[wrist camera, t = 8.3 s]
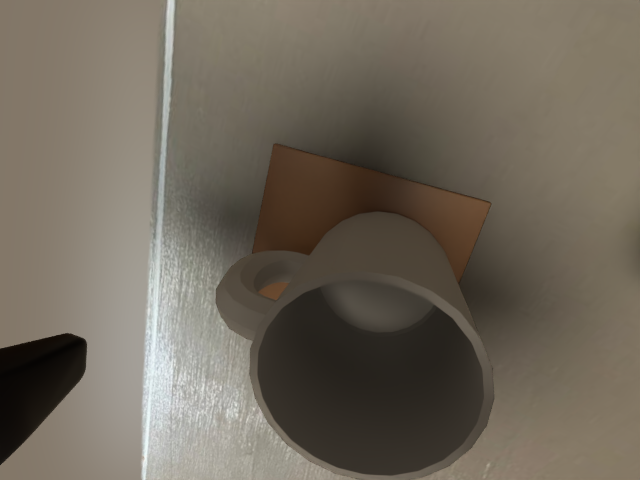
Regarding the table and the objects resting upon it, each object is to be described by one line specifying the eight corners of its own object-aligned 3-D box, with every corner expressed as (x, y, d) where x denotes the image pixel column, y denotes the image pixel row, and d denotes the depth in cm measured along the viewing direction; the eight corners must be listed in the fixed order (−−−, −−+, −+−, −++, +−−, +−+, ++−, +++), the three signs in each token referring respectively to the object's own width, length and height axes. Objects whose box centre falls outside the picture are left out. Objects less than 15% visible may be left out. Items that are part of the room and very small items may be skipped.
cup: (425, 353, 20) (445, 513, 11) (254, 301, 21) (160, 410, 13) (470, 230, 18) (537, 316, 9) (276, 179, 19) (180, 214, 10)
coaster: (239, 323, 22) (237, 326, 22) (275, 143, 19) (273, 143, 18) (416, 383, 21) (416, 388, 21) (489, 201, 18) (492, 203, 17)
